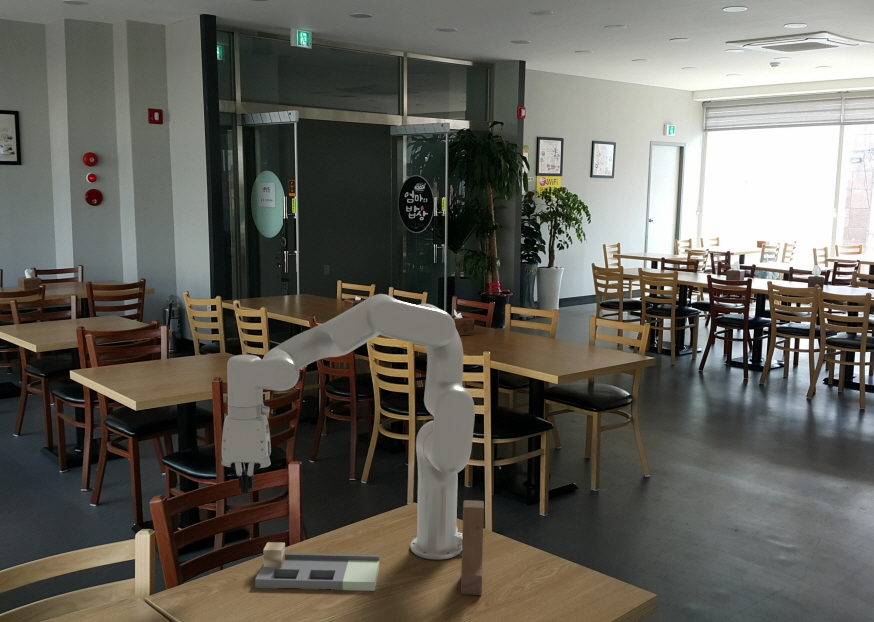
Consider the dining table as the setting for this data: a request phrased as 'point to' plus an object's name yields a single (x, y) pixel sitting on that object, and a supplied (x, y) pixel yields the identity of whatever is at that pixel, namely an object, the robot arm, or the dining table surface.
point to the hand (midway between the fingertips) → (246, 491)
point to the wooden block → (472, 547)
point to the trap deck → (322, 572)
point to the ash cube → (274, 554)
